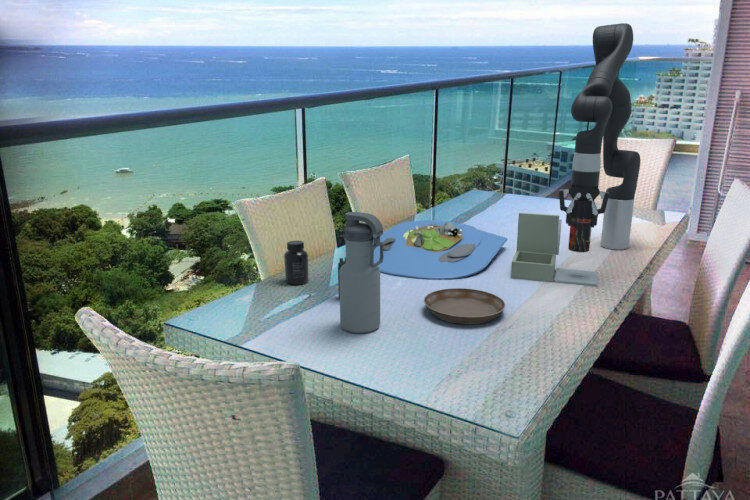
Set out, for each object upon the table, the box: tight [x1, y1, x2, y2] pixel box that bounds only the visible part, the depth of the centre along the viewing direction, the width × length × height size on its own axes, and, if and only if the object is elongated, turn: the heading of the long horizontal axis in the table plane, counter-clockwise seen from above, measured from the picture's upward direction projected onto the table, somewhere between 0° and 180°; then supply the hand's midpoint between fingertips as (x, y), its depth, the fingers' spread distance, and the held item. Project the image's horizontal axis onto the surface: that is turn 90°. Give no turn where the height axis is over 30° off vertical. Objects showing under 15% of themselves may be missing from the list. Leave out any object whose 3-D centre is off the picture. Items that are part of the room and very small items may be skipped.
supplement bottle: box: [283, 240, 310, 286], centre depth 185 cm, size 7×7×12 cm
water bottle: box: [339, 211, 384, 334], centre depth 151 cm, size 10×10×28 cm
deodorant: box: [567, 199, 595, 253], centre depth 184 cm, size 6×6×15 cm
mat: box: [553, 267, 599, 287], centre depth 189 cm, size 12×12×1 cm
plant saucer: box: [423, 287, 506, 325], centre depth 163 cm, size 21×21×3 cm
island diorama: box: [373, 219, 508, 280], centre depth 208 cm, size 45×43×12 cm
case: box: [510, 212, 562, 283], centre depth 191 cm, size 13×13×17 cm
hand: (580, 225), depth 184 cm, fingers closed on deodorant, 6 cm apart
